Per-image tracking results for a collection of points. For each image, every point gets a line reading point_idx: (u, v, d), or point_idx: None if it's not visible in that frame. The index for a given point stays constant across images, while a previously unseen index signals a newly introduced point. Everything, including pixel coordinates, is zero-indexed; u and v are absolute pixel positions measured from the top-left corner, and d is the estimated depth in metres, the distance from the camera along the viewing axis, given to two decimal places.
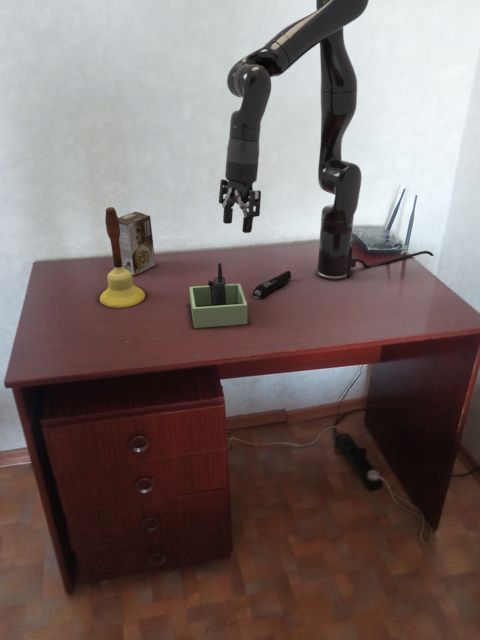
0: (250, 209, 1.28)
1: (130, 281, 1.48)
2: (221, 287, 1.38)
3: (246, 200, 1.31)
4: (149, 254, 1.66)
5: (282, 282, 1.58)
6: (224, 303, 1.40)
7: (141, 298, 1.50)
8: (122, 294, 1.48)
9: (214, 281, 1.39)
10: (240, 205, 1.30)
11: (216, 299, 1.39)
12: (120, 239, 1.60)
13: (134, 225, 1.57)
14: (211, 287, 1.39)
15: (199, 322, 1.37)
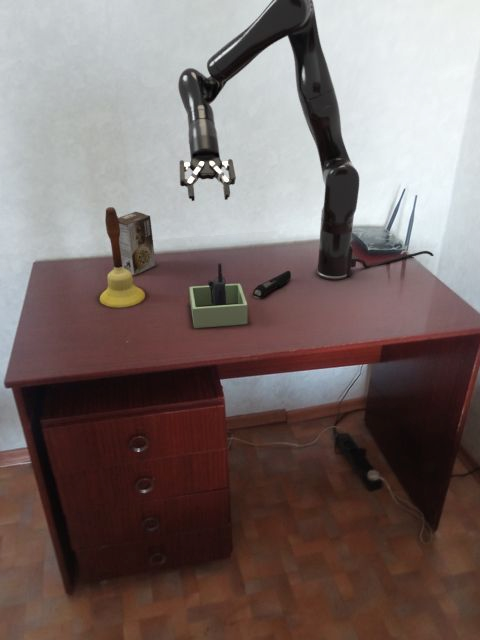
0: None
1: (130, 281, 1.48)
2: (221, 287, 1.38)
3: None
4: (149, 254, 1.66)
5: (282, 282, 1.58)
6: (224, 303, 1.40)
7: (141, 298, 1.50)
8: (122, 294, 1.48)
9: (214, 281, 1.39)
10: None
11: (216, 299, 1.39)
12: (120, 239, 1.60)
13: (134, 225, 1.57)
14: (211, 287, 1.39)
15: (199, 322, 1.37)
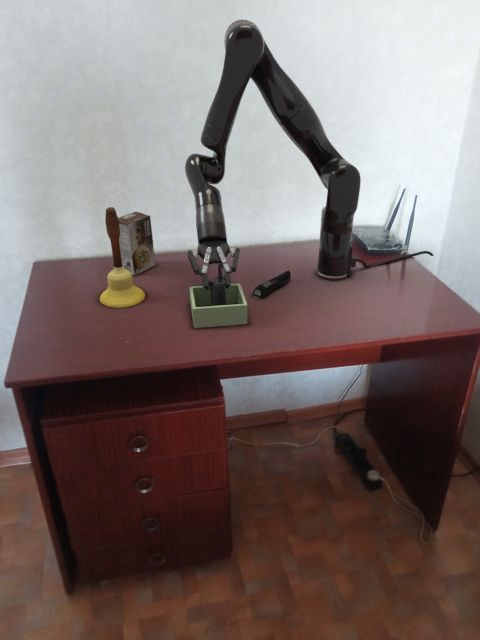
0: None
1: (130, 281, 1.48)
2: (221, 287, 1.38)
3: None
4: (149, 254, 1.66)
5: (282, 282, 1.58)
6: (224, 303, 1.40)
7: (141, 298, 1.50)
8: (122, 294, 1.48)
9: (214, 281, 1.39)
10: None
11: (216, 299, 1.39)
12: (120, 239, 1.60)
13: (134, 225, 1.57)
14: (211, 287, 1.39)
15: (199, 322, 1.37)
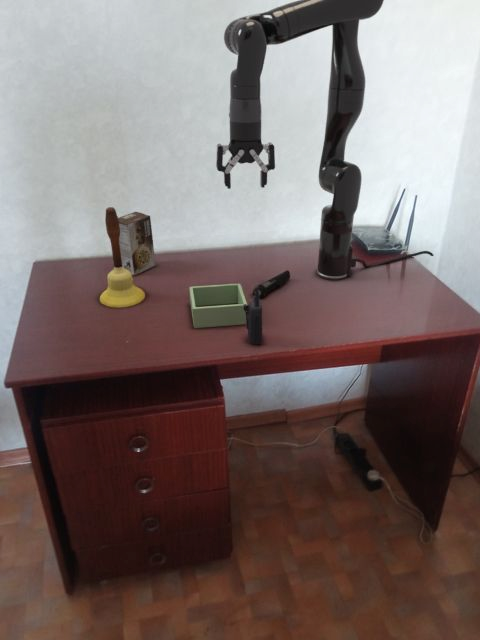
0: None
1: (130, 281, 1.48)
2: (258, 312, 1.27)
3: (234, 157, 1.33)
4: (149, 254, 1.66)
5: (281, 282, 1.58)
6: (260, 329, 1.30)
7: (141, 298, 1.50)
8: (122, 294, 1.48)
9: (250, 305, 1.28)
10: None
11: (252, 325, 1.29)
12: (120, 239, 1.60)
13: (134, 225, 1.57)
14: (246, 312, 1.29)
15: (199, 322, 1.37)
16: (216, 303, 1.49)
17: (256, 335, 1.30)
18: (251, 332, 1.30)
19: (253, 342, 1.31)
